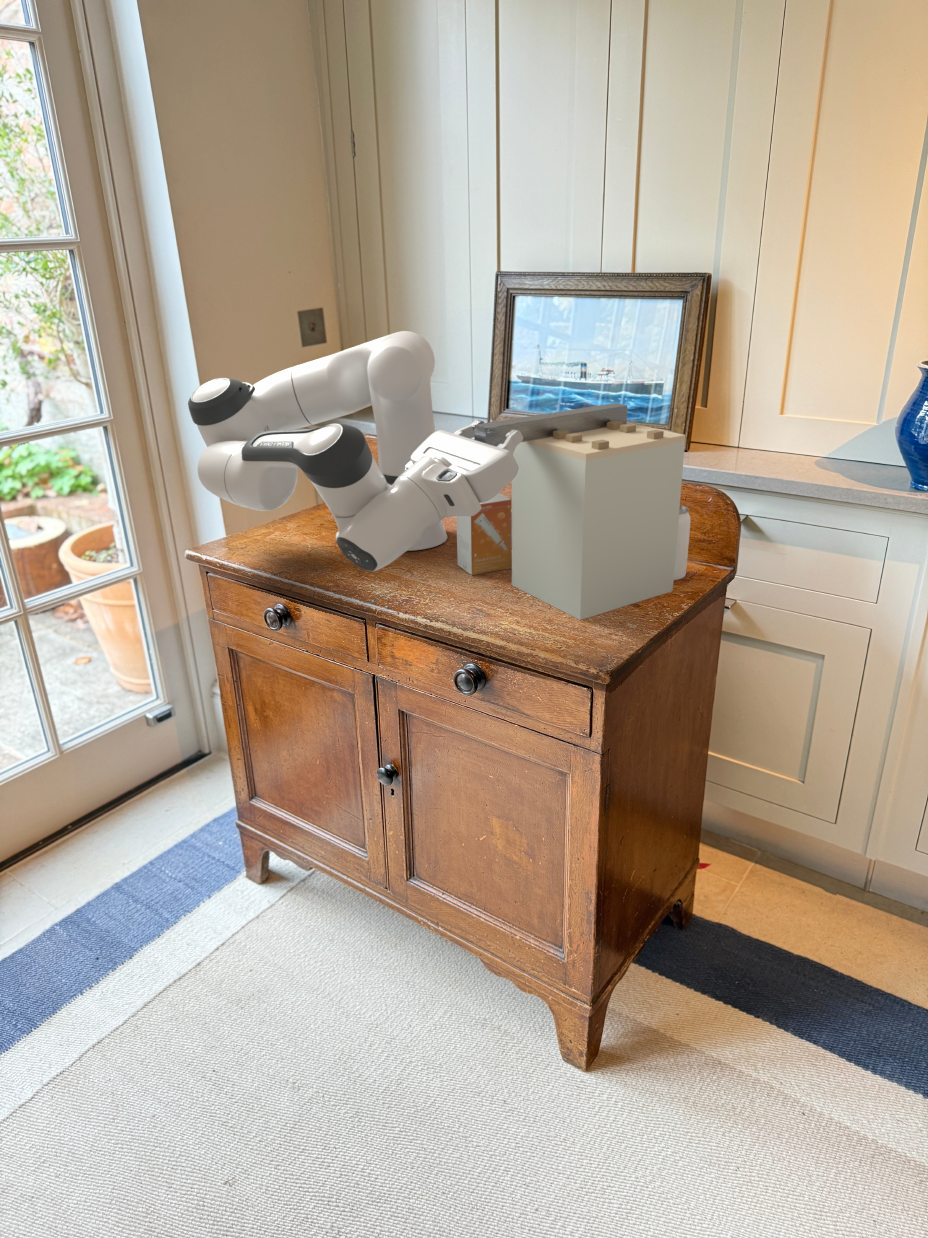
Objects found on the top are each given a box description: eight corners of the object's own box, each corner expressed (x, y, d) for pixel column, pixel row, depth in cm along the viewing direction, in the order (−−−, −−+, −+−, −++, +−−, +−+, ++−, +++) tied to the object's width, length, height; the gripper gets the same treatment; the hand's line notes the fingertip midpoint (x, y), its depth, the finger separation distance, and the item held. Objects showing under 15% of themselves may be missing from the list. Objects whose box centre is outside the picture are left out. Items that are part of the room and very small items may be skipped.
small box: (471, 576, 149) (470, 505, 144) (457, 565, 154) (454, 496, 149) (512, 568, 152) (512, 498, 147) (496, 558, 157) (495, 489, 152)
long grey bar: (485, 448, 125) (485, 427, 124) (474, 444, 127) (474, 424, 126) (626, 423, 139) (627, 405, 137) (614, 421, 141) (614, 402, 140)
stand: (580, 620, 131) (586, 446, 120) (511, 585, 145) (511, 427, 134) (672, 591, 141) (686, 428, 130) (600, 560, 155) (607, 411, 144)
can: (688, 571, 149) (694, 505, 144) (681, 583, 144) (687, 516, 139) (652, 566, 151) (656, 501, 146) (643, 579, 146) (648, 512, 141)
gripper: (409, 487, 134) (471, 433, 137) (481, 518, 118) (549, 457, 121) (389, 456, 130) (453, 401, 133) (461, 484, 114) (532, 421, 117)
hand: (500, 428), depth 127 cm, fingers open, 8 cm apart
